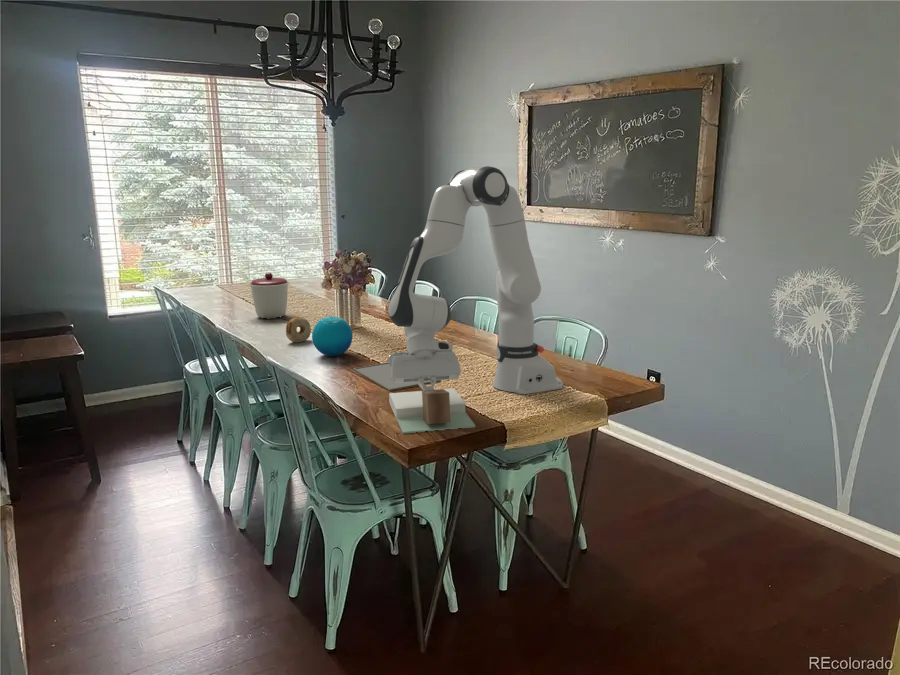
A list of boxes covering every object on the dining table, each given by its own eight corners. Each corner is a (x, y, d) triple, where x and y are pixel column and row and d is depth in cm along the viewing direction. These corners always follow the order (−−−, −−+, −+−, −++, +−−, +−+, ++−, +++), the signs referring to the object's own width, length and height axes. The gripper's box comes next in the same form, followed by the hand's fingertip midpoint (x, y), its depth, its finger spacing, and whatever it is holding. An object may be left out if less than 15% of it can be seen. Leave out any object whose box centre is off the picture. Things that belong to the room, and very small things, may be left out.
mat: (466, 414, 194) (466, 412, 194) (475, 427, 185) (475, 425, 184) (397, 420, 190) (397, 418, 190) (402, 433, 180) (402, 431, 180)
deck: (454, 397, 208) (454, 388, 207) (465, 413, 195) (465, 403, 194) (389, 402, 204) (389, 393, 203) (396, 419, 191) (396, 409, 190)
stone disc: (290, 344, 270) (288, 320, 268) (285, 343, 273) (284, 318, 270) (313, 340, 277) (311, 316, 274) (308, 338, 279) (307, 315, 277)
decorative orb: (340, 362, 245) (338, 322, 242) (305, 358, 251) (302, 319, 247) (360, 352, 259) (359, 314, 255) (326, 348, 264) (324, 311, 261)
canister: (297, 313, 327) (294, 270, 322) (281, 321, 310) (278, 276, 305) (262, 312, 331) (259, 269, 325) (244, 320, 313) (241, 275, 308)
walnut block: (443, 389, 190) (449, 392, 182) (444, 417, 190) (450, 422, 183) (421, 390, 189) (427, 394, 181) (423, 419, 189) (428, 424, 181)
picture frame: (440, 382, 224) (401, 362, 247) (440, 379, 224) (401, 360, 247) (389, 392, 214) (352, 370, 237) (389, 389, 214) (352, 368, 237)
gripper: (388, 347, 195) (393, 390, 189) (457, 344, 200) (465, 385, 193) (386, 358, 201) (391, 400, 194) (453, 354, 205) (461, 395, 198)
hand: (428, 393), depth 194 cm, fingers closed
